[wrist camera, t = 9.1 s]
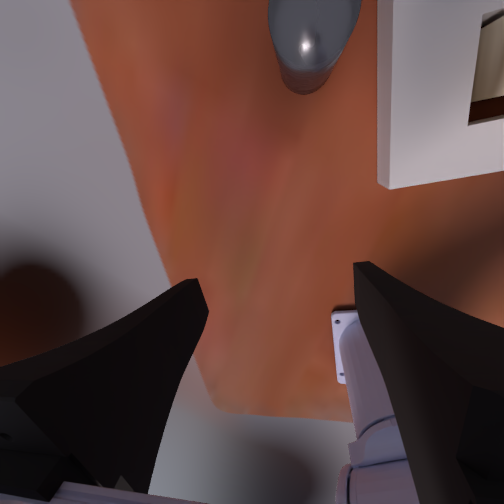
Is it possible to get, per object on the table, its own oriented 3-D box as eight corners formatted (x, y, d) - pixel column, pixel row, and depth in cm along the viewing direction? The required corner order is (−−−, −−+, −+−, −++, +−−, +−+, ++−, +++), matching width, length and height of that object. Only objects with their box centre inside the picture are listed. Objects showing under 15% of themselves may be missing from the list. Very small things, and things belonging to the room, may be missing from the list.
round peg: (335, 86, 15) (362, 50, 9) (284, 100, 16) (276, 76, 9) (331, 21, 14) (360, -78, 7) (276, 40, 14) (260, -34, 8)
